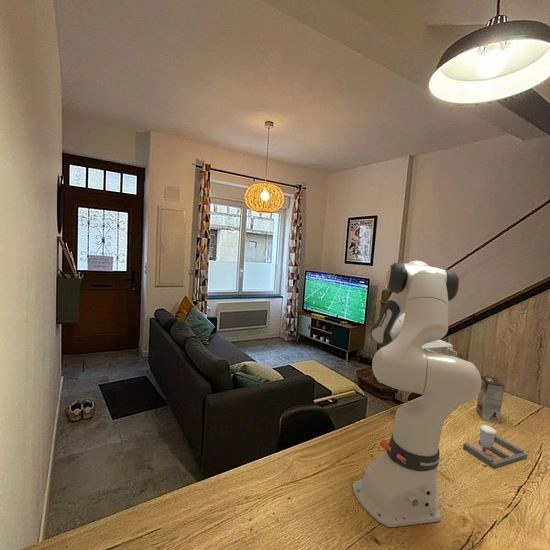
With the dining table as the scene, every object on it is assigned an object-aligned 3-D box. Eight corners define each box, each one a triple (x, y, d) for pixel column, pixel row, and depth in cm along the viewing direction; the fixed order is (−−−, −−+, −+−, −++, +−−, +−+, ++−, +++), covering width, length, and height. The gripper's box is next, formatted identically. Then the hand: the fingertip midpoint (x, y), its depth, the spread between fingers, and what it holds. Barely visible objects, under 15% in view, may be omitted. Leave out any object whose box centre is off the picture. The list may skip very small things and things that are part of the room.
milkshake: (498, 458, 103) (502, 429, 102) (480, 455, 104) (484, 426, 103) (491, 450, 107) (495, 422, 107) (474, 447, 108) (478, 419, 108)
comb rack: (493, 468, 98) (494, 462, 98) (463, 448, 108) (463, 443, 108) (526, 457, 105) (527, 452, 105) (495, 440, 115) (496, 435, 115)
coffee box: (475, 410, 138) (480, 374, 136) (492, 413, 136) (497, 377, 134) (481, 420, 129) (487, 382, 128) (500, 424, 127) (505, 385, 126)
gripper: (400, 337, 128) (428, 348, 115) (435, 335, 136) (466, 345, 124) (398, 352, 129) (426, 364, 116) (433, 350, 137) (463, 361, 124)
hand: (447, 355), depth 120 cm, fingers open, 8 cm apart
